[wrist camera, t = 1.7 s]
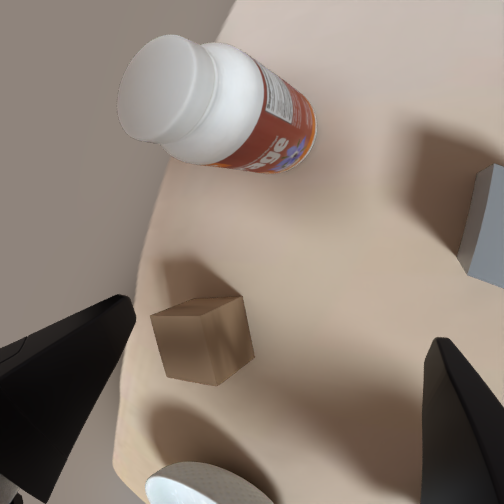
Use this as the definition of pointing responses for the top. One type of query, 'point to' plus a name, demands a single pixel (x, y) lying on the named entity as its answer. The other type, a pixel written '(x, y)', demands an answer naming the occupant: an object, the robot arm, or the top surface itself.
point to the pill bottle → (214, 107)
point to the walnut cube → (204, 339)
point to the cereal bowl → (201, 486)
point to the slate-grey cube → (485, 229)
